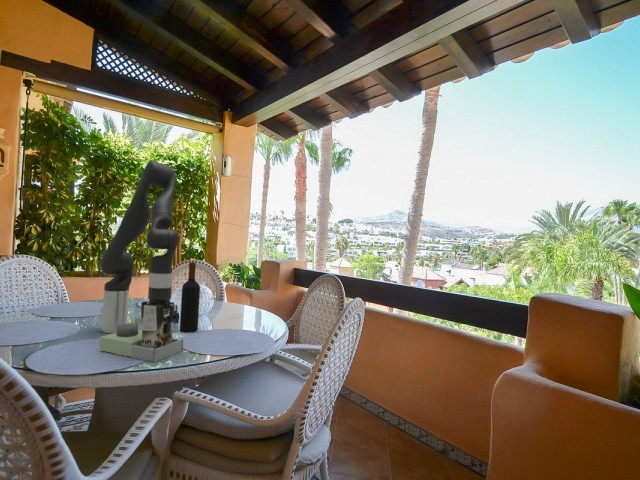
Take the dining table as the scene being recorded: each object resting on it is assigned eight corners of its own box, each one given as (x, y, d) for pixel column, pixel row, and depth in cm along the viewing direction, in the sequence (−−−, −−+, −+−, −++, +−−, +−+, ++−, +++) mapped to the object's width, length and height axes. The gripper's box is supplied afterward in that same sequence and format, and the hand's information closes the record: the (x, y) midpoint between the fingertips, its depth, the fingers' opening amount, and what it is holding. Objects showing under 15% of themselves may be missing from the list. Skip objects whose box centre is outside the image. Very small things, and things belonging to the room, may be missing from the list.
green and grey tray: (99, 351, 132) (100, 328, 132) (131, 341, 145) (132, 320, 145) (154, 362, 124) (155, 338, 124) (182, 350, 137) (183, 329, 137)
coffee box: (157, 353, 127) (159, 306, 127) (140, 351, 129) (142, 304, 128) (172, 346, 136) (175, 301, 136) (156, 344, 138) (159, 300, 137)
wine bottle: (180, 333, 160) (184, 263, 160) (178, 328, 167) (182, 261, 166) (199, 332, 164) (203, 263, 163) (196, 327, 170) (199, 261, 170)
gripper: (184, 286, 134) (181, 332, 134) (151, 282, 138) (149, 327, 138) (169, 288, 126) (166, 337, 127) (136, 284, 131) (133, 331, 131)
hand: (157, 332), depth 132 cm, fingers closed on coffee box, 7 cm apart
